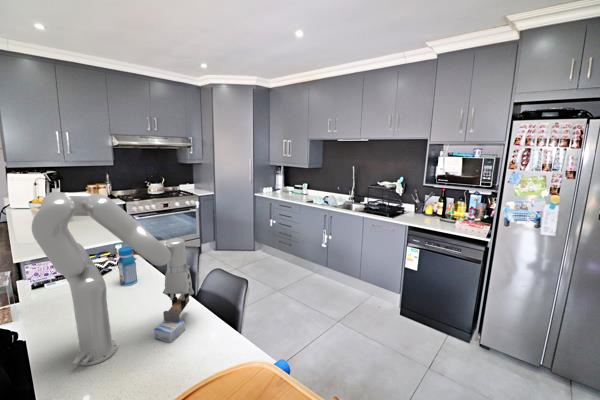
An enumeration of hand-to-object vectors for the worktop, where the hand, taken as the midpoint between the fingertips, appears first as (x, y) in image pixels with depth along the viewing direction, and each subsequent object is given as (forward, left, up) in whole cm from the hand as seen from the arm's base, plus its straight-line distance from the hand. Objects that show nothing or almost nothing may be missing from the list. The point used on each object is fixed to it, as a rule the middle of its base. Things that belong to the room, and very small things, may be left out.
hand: (179, 306), depth 126 cm
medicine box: (-5, -1, -5) cm, 7 cm away
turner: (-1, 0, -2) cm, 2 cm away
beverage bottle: (+33, +43, -7) cm, 55 cm away
